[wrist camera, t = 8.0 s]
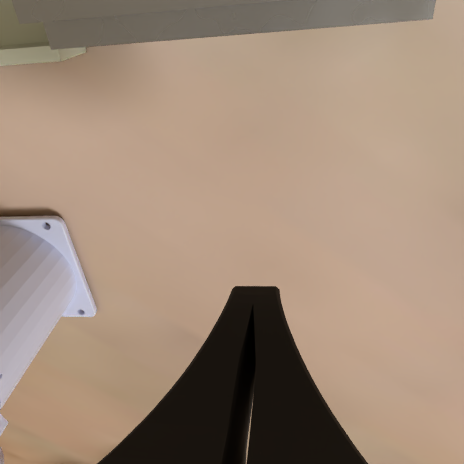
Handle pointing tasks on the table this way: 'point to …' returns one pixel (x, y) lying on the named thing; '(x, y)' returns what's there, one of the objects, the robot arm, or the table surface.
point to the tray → (27, 41)
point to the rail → (202, 18)
